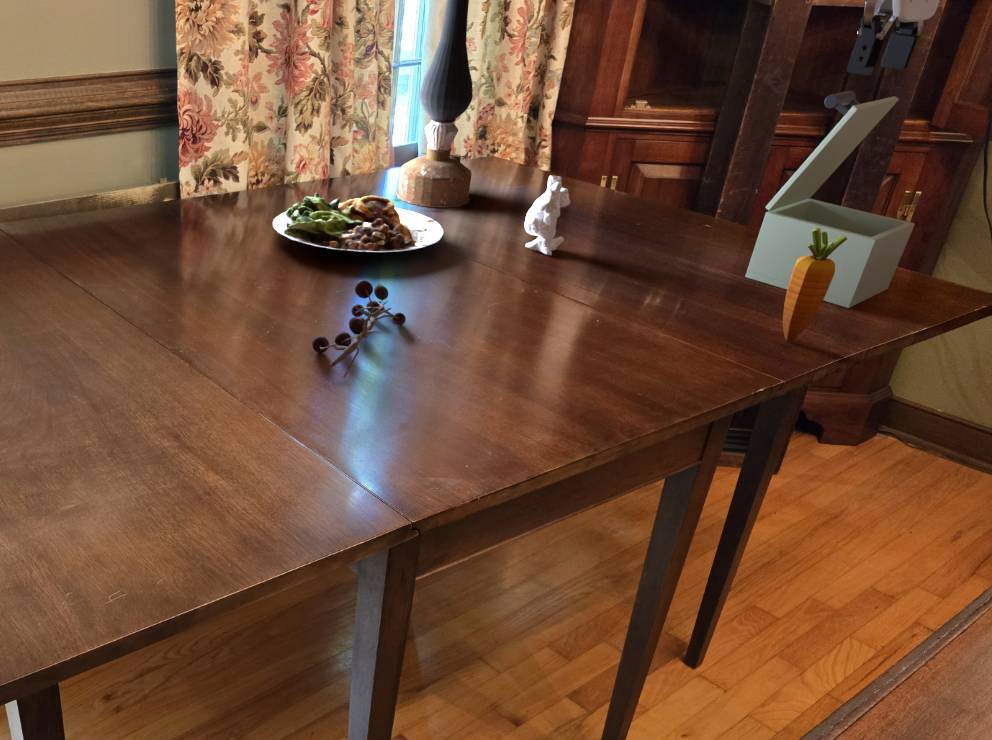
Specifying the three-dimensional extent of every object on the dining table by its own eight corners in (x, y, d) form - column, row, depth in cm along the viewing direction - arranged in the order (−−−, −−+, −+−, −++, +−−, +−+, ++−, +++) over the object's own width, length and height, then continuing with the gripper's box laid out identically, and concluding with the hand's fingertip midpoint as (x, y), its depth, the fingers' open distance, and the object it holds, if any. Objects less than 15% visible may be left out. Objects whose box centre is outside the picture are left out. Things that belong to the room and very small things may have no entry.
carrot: (814, 343, 129) (857, 230, 120) (797, 352, 126) (841, 237, 117) (778, 331, 132) (817, 221, 123) (761, 339, 129) (800, 227, 120)
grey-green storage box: (887, 289, 148) (915, 223, 142) (848, 308, 140) (875, 240, 134) (786, 260, 157) (808, 198, 152) (744, 277, 150) (765, 212, 144)
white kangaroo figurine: (561, 259, 154) (578, 182, 147) (519, 254, 155) (533, 177, 148) (562, 243, 160) (577, 169, 153) (521, 239, 162) (535, 165, 155)
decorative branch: (377, 252, 132) (377, 282, 105) (406, 312, 135) (413, 356, 108) (305, 291, 135) (287, 330, 108) (335, 348, 138) (324, 401, 111)
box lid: (899, 99, 138) (869, 75, 140) (857, 109, 130) (827, 83, 132) (811, 196, 151) (785, 174, 153) (768, 210, 144) (741, 186, 145)
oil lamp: (392, 221, 179) (382, -19, 152) (402, 186, 189) (395, -44, 162) (467, 220, 176) (471, -26, 148) (474, 184, 186) (479, -51, 159)
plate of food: (237, 236, 157) (237, 198, 154) (342, 204, 175) (345, 170, 171) (373, 280, 142) (377, 239, 139) (473, 241, 160) (479, 204, 156)
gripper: (937, -88, 107) (876, 81, 116) (995, -86, 116) (935, 70, 125) (868, -91, 111) (815, 71, 121) (929, -89, 120) (876, 62, 130)
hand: (876, 70), depth 123 cm, fingers open, 9 cm apart
